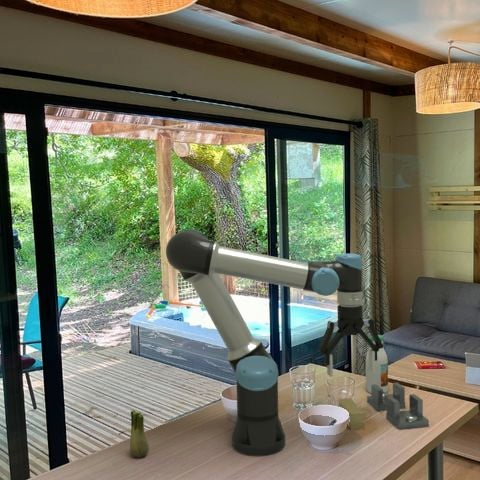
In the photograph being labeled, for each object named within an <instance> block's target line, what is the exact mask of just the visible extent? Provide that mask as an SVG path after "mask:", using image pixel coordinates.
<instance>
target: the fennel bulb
mask: <svg viewBox="0 0 480 480" xmlns="http://www.w3.org/2000/svg"><path fill="white" fill-rule="evenodd" d="M130 417H131V418H130V424H131V425H130V426H131V428H130V443H129V444H130V445H129V451H130V455H131V456H132V457H133V458H142V457H145V455H147V453H148V452H149V442H148V440H147V438H146V436H145V435H146V434H145V428H144V427H145V426H144V425H145V424H144V420H145V419H144V415H143V414H142V412H141V411H136V410H135V409H132V410H130Z"/></svg>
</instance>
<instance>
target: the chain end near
mask: <svg viewBox="0 0 480 480" xmlns="http://www.w3.org/2000/svg"><path fill="white" fill-rule="evenodd" d="M408 396H409V409H408V410H407V409H406V410H400V409H399V402H398V401H397V400H396V399H395V398H393V397H392V396H389V397H387V410H386V413H385V416H386V418H385V419H386V420H387V421H388V422H389V423H390V424H392V425H393V426H394V427H396V429H397V430H399V431H400V430H407V429H408V430H409V429H418V428H419V429H420V428H425V427H427V428H428V427H429V426H430V425H429V423H430V421H429V419H428V418H427V417H425V416H424V412H423V411H424V409H423V408H424V406H423V405H424V403H423V402H424V400H423V399H422V398H421V397H419V396H418V395H416V394H415V393H412V394H411V393H410V394H409V395H408Z"/></svg>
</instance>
